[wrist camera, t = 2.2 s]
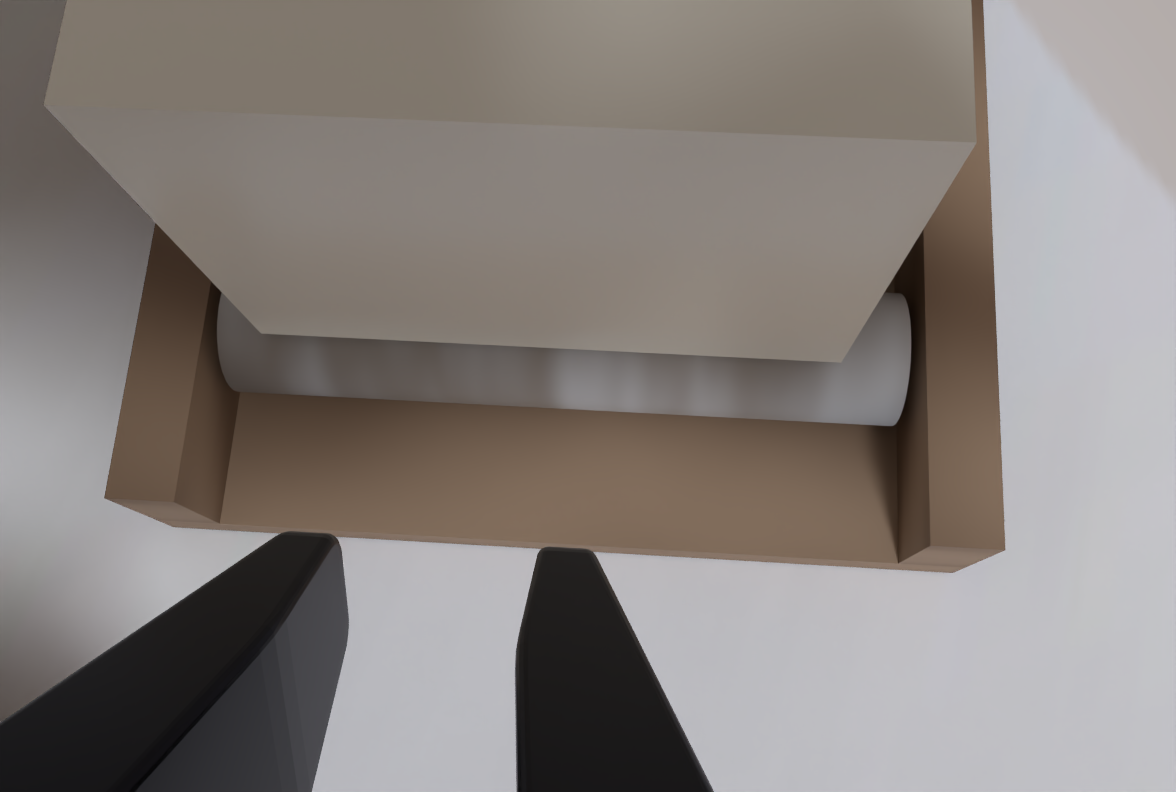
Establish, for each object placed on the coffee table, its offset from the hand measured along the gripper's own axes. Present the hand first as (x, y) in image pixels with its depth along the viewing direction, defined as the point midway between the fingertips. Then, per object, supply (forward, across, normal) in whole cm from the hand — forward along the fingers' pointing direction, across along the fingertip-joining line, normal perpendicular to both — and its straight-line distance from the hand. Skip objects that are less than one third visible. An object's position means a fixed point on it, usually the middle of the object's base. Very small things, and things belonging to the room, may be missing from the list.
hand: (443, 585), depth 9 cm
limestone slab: (+14, 0, 0) cm, 14 cm away
